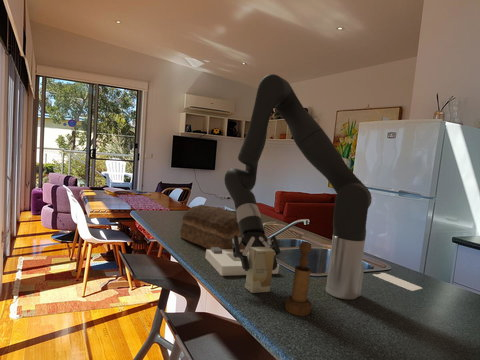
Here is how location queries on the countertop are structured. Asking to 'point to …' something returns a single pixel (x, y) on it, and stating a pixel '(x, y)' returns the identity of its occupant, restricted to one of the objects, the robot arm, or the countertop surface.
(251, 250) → the skincare box
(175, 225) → the countertop surface
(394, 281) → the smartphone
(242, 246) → the bread
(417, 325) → the countertop surface
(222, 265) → the socket plate
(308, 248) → the brown wooden tall piece
